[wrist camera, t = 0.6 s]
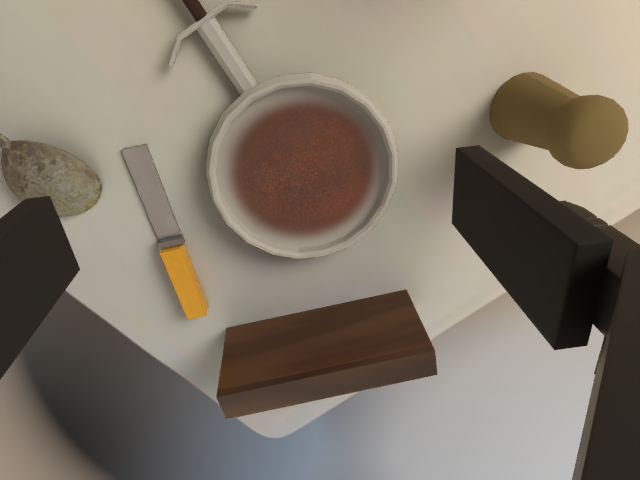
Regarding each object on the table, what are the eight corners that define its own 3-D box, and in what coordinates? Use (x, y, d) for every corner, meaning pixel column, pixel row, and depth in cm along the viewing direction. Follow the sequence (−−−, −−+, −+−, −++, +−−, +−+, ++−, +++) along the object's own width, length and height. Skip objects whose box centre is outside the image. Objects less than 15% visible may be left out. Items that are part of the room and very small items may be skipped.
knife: (120, 149, 39) (115, 154, 38) (147, 143, 39) (142, 148, 38) (188, 310, 47) (185, 320, 46) (210, 306, 47) (208, 315, 46)
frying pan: (256, -131, 29) (433, 204, 41) (257, -119, 32) (424, 193, 43) (58, 20, 32) (276, 293, 44) (75, 20, 35) (277, 277, 46)
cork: (542, 143, 42) (622, 184, 33) (482, 137, 41) (545, 177, 32) (565, 76, 40) (660, 98, 30) (501, 68, 39) (578, 88, 29)
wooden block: (226, 327, 49) (216, 397, 40) (406, 289, 49) (435, 350, 40) (234, 348, 50) (225, 419, 41) (409, 311, 50) (437, 374, 41)
